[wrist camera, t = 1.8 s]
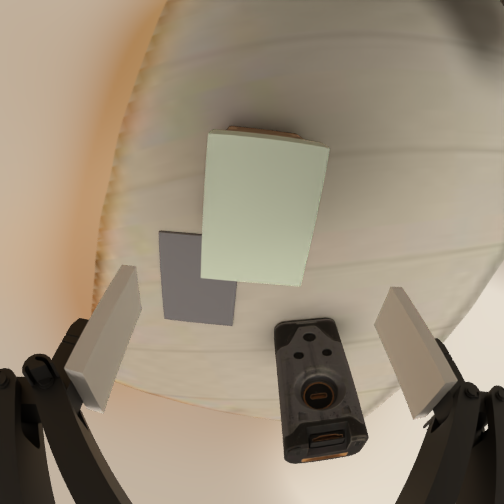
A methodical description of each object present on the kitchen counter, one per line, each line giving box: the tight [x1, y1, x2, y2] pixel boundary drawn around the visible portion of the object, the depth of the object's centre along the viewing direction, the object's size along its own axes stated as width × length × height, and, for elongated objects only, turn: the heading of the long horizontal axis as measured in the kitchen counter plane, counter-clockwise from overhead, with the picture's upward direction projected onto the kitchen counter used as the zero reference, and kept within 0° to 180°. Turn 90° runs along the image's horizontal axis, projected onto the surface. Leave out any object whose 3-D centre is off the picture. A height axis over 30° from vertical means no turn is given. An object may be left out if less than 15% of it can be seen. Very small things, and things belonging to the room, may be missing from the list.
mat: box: [159, 231, 237, 326], centre depth 38 cm, size 14×10×1 cm
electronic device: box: [274, 319, 368, 464], centre depth 35 cm, size 9×6×20 cm, turn 94°
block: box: [201, 129, 330, 286], centre depth 25 cm, size 12×9×4 cm
